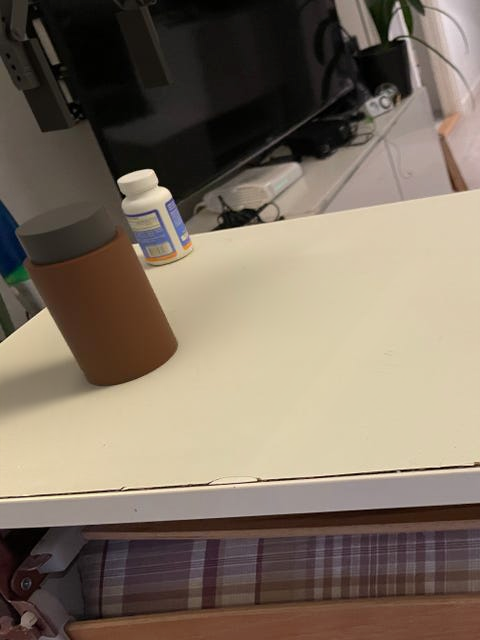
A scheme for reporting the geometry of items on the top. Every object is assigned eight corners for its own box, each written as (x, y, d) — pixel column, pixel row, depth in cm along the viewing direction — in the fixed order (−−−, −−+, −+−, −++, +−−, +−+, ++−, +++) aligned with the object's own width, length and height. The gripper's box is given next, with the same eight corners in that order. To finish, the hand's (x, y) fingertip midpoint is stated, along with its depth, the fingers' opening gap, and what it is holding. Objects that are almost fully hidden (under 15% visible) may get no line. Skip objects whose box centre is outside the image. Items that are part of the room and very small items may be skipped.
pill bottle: (177, 243, 93) (142, 165, 88) (203, 247, 89) (169, 166, 84) (138, 263, 89) (100, 183, 84) (164, 268, 86) (126, 185, 81)
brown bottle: (66, 385, 66) (-17, 242, 59) (126, 336, 72) (57, 201, 66) (140, 386, 63) (62, 235, 56) (195, 334, 70) (131, 193, 63)
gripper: (-128, -222, 44) (46, 146, 55) (135, -199, 64) (225, 66, 75) (-219, -190, 46) (-34, 157, 57) (64, -178, 66) (160, 77, 77)
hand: (113, 106), depth 66 cm, fingers open, 13 cm apart
